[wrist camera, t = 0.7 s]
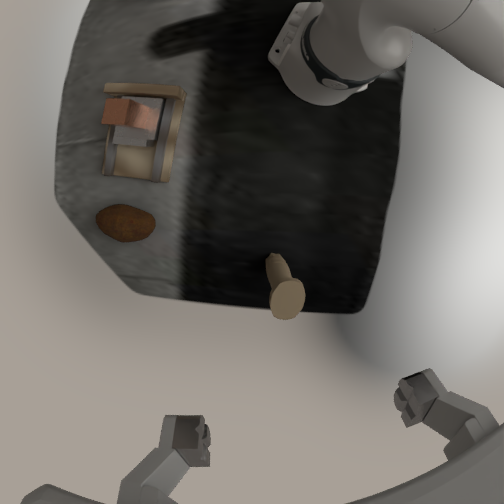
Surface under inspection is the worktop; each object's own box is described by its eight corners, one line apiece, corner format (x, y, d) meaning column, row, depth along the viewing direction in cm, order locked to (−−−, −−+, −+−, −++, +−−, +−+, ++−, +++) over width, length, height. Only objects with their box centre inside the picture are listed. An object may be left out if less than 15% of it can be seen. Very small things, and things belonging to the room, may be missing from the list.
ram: (127, 98, 38) (97, 86, 27) (166, 101, 39) (145, 87, 28) (119, 143, 41) (86, 143, 30) (157, 147, 42) (133, 147, 31)
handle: (289, 245, 51) (309, 282, 37) (283, 276, 54) (299, 320, 40) (263, 242, 51) (275, 279, 37) (258, 274, 53) (267, 318, 39)
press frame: (119, 89, 38) (105, 83, 33) (186, 93, 40) (179, 86, 34) (104, 172, 44) (89, 176, 38) (169, 181, 46) (159, 186, 40)
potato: (159, 237, 49) (149, 251, 43) (105, 234, 48) (90, 246, 42) (159, 202, 47) (148, 210, 40) (104, 200, 46) (86, 208, 39)
